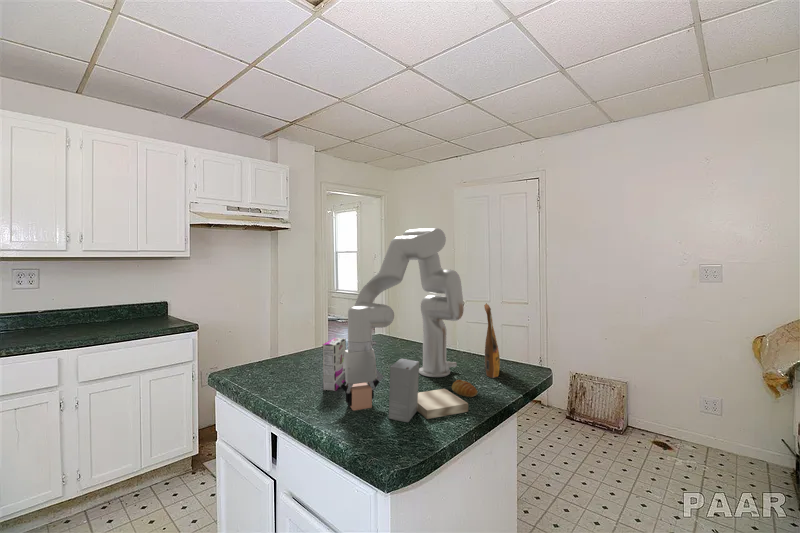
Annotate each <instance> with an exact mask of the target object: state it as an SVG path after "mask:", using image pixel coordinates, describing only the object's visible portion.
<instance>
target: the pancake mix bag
mask: <svg viewBox="0 0 800 533" xmlns="http://www.w3.org/2000/svg"><path fill="white" fill-rule="evenodd" d="M484 310H485V313H486V318H487V330H486V337H485V344H484V365H485V366H484V367H485V373H486V375H485V376H487V377H488V378H492V379H494V378H498V377H499V375H500V367H501V366H500V365H501V361H500V360H501V358H500V357H501V356H500V352H499V345H498V342H497V338H496V333H495V332H496V331H495V329H494V323H493V316H492V315H493V314H492V311H491V310H492V308H491V306H490V305H489V304H488V303H487V302H486V303H485V304H484Z"/></svg>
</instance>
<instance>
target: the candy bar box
mask: <svg viewBox="0 0 800 533" xmlns="http://www.w3.org/2000/svg"><path fill="white" fill-rule="evenodd" d="M346 341H347V340H346V338H345V337H333V338H332V339H329V340H328V341H327V342H325V343H323V344H322V382H323V383H322V388H323V391H326V390H327V391H329V392H337V391H338V389H340V388H341V387H340V386H339V385H337V384H336V382H335V381H336V379H337V378H338V377H339V376H340V375H341V374H342V371H343V360H344V354H345V350H347V348H346V347H347V344H346V343H347V342H346ZM342 383H343V384H344V383H346V380H342Z"/></svg>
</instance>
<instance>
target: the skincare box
mask: <svg viewBox="0 0 800 533" xmlns="http://www.w3.org/2000/svg"><path fill="white" fill-rule="evenodd" d="M389 369H390V370H389V371H390V372H389V393H388V394H389V395H388V419H389V420H395V421H399V422H404V423H409V422H410V421H411V420H412V419H413V417H414V416H415V415H416V414H417V412H418V411H417V402H418V393H419V376H420V373H419V369H420V361H418V360H412V359H406V358H399V359H398V360H397V361H396V362H394V363H392V364H391V365H390V366H389Z"/></svg>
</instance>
